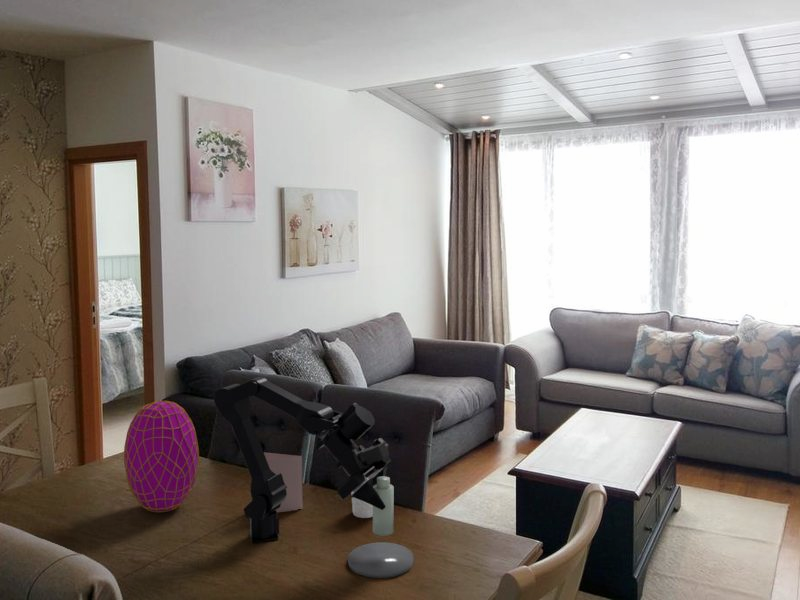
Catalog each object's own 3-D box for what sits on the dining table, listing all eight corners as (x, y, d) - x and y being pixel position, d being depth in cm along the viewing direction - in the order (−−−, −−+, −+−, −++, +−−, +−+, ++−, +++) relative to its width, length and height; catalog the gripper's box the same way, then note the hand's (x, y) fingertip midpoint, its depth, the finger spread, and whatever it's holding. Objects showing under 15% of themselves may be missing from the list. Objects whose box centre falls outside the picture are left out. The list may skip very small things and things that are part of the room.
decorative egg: (109, 517, 180) (105, 407, 177) (160, 492, 198) (157, 391, 195) (166, 528, 173) (163, 414, 170) (214, 501, 191) (212, 397, 188)
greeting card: (303, 508, 186) (303, 455, 185) (292, 518, 179) (291, 463, 178) (266, 503, 189) (265, 451, 188) (253, 513, 182) (252, 459, 181)
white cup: (375, 520, 178) (375, 483, 177) (347, 517, 180) (347, 481, 179) (382, 508, 186) (382, 473, 185) (355, 506, 187) (354, 471, 186)
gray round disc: (357, 582, 145) (357, 577, 145) (341, 552, 160) (341, 547, 160) (422, 572, 150) (422, 566, 150) (401, 543, 164) (401, 538, 164)
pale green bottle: (371, 535, 153) (372, 482, 152) (373, 526, 158) (373, 474, 157) (392, 535, 153) (393, 482, 152) (393, 526, 158) (394, 475, 157)
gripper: (349, 441, 146) (396, 498, 143) (383, 420, 164) (425, 470, 160) (317, 472, 150) (362, 528, 147) (354, 448, 167) (395, 497, 164)
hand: (388, 504), depth 154 cm, fingers closed on pale green bottle, 5 cm apart
